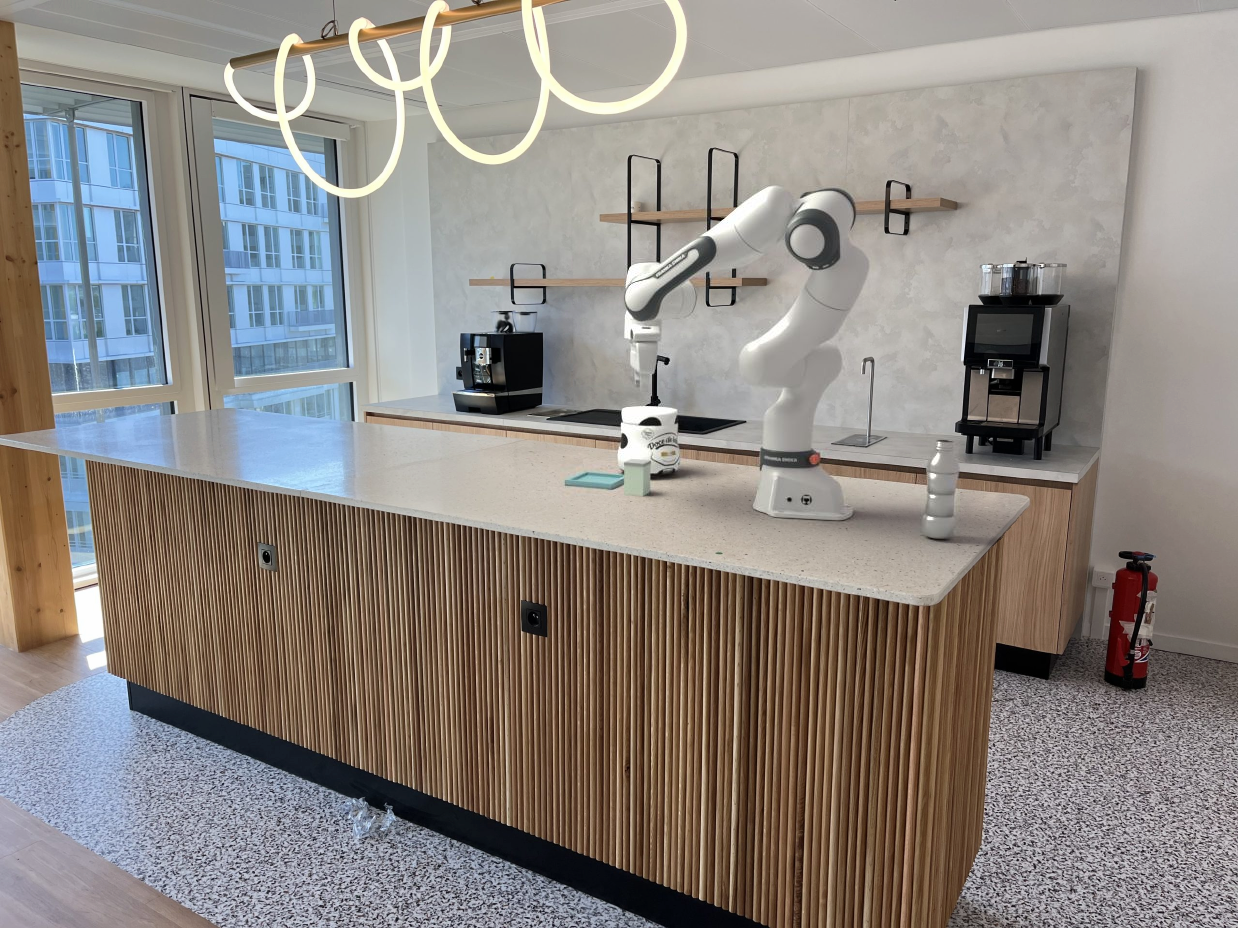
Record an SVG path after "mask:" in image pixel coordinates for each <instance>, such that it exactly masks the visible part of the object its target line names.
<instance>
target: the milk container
mask: <svg viewBox="0 0 1238 928" xmlns="http://www.w3.org/2000/svg"><path fill="white" fill-rule="evenodd" d="M678 413H679V412H678V409H677V408H674V407H666V406H656V405H655V406H650V405H649V406H647V405H645V406H639V405H638V406H628V407H627V406H626V407H624V408H622V409H621V417H620V421H621V423H620V430H621V431H620V434H621V435H620V436H621V437H620V443H619V448H618V452H617V465H618V468H619V470H621V472H622V473H624V462H625V461H628V460H630V459H639V460H651V464H650V478H651V477H653V478H654V477H663V476H669V475H673V474H675V473H676V472H677V471H678V470H679V469H680V465H681V459H682V458H681V450H680V447H679V443H678V441H679V440H678V437H679V436H678V434H679V433H678V432H679V423H678V422H679V414H678Z"/></svg>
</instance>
